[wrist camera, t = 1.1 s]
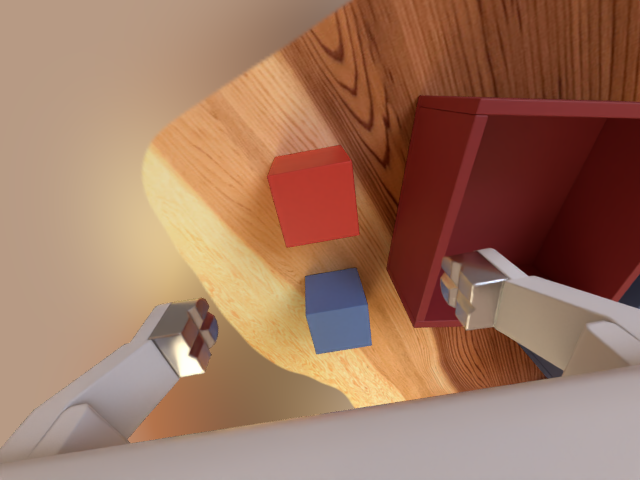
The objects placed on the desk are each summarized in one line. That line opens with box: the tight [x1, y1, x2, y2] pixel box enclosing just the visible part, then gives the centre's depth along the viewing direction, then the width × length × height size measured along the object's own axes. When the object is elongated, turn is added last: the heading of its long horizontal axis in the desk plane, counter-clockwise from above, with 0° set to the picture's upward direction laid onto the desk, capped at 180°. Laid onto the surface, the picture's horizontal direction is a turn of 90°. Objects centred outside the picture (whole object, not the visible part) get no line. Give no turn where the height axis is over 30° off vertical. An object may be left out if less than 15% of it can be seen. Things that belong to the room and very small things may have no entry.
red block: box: [267, 145, 360, 248], centre depth 17 cm, size 4×4×4 cm
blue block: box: [305, 268, 372, 354], centre depth 22 cm, size 4×4×4 cm
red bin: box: [387, 95, 640, 328], centre depth 17 cm, size 13×13×6 cm
